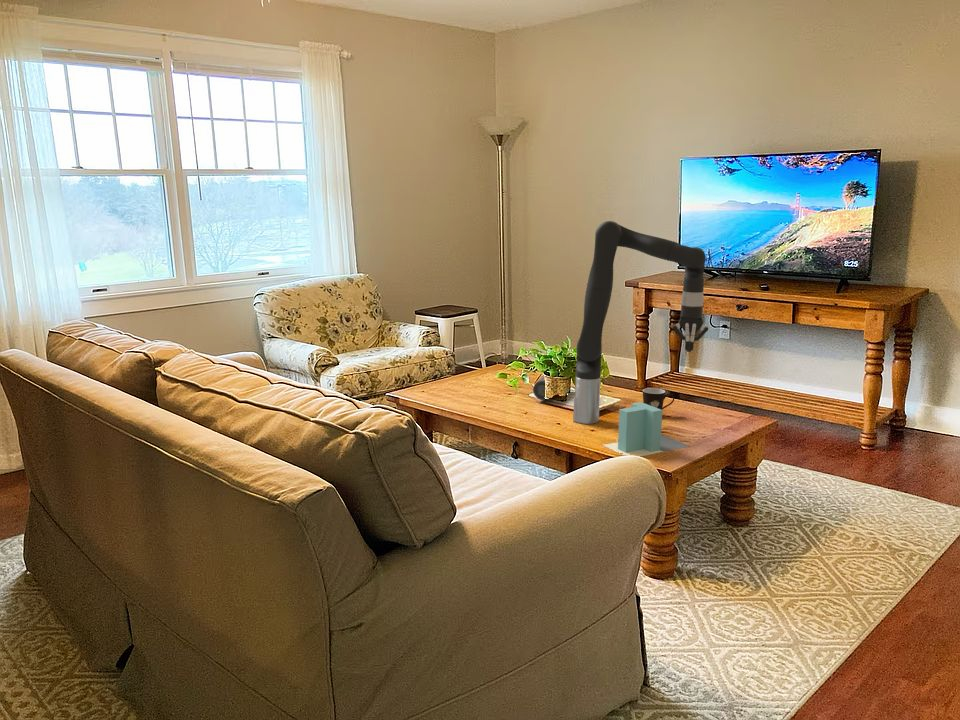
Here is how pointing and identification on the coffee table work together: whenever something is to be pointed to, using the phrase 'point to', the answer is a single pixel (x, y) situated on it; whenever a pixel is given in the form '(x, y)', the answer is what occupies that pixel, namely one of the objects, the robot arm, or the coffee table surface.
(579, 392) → the robot arm
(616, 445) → the felt mat
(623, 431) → the tee block
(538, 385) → the bluetooth speaker
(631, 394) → the coffee table surface
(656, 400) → the coffee mug
